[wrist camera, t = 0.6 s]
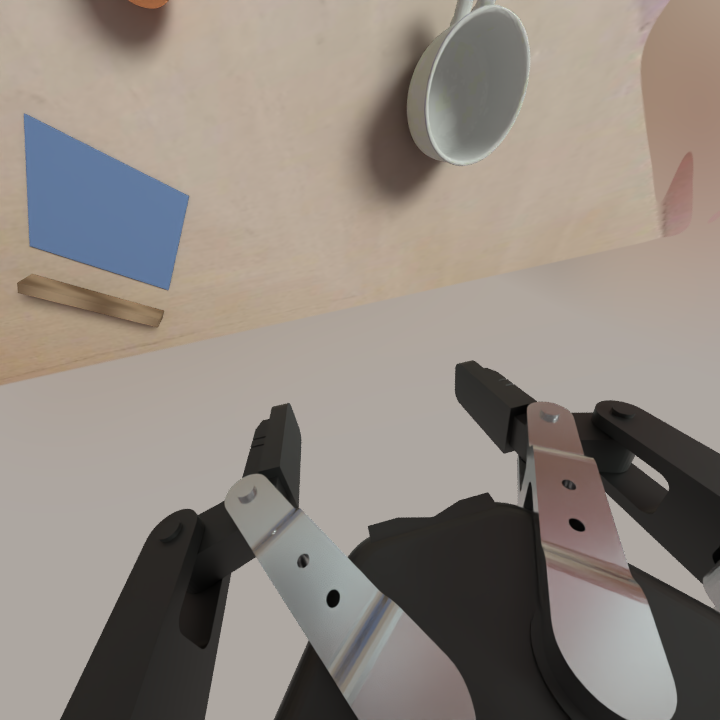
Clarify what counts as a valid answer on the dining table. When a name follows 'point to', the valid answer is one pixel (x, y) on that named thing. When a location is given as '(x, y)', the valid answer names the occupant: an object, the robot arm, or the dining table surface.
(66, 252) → the mark
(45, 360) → the dining table surface
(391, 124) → the dining table surface
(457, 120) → the teacup
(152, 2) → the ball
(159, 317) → the stopper
